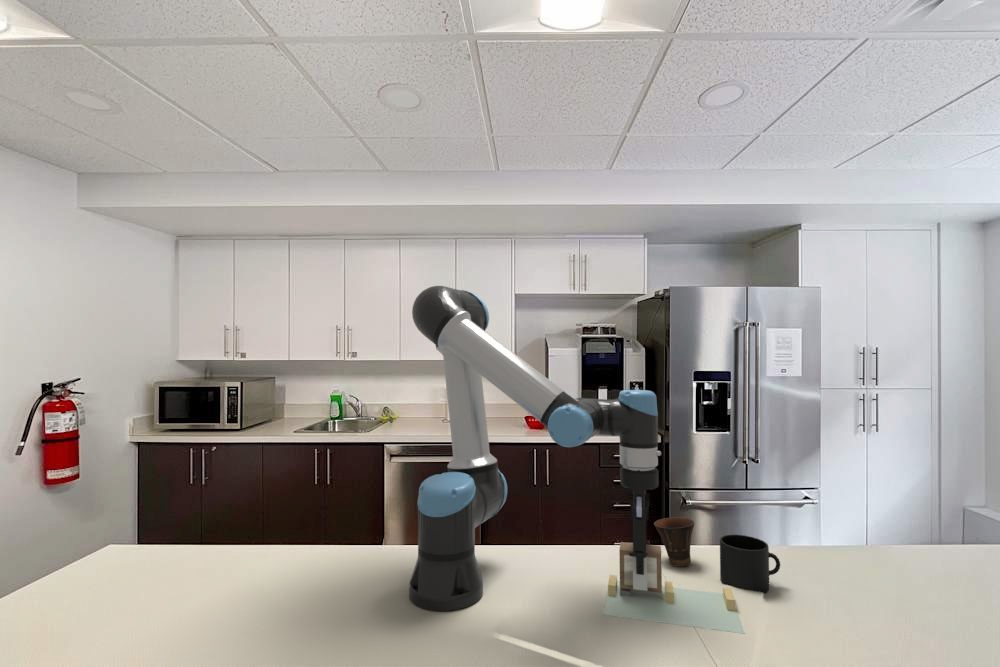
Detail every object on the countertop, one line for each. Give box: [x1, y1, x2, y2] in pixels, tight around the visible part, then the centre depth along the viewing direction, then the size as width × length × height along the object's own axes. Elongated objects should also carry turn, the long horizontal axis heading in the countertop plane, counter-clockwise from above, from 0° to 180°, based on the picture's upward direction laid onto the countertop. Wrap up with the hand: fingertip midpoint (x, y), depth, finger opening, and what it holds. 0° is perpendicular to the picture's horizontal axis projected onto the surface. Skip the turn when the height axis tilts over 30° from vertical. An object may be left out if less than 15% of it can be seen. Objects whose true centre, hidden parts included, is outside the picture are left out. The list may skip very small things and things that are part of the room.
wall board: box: [603, 574, 746, 635], centre depth 100 cm, size 24×15×3 cm, turn 74°
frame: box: [618, 541, 663, 593], centre depth 104 cm, size 8×5×8 cm, turn 74°
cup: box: [653, 516, 695, 567], centre depth 122 cm, size 9×9×10 cm
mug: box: [719, 534, 781, 594], centre depth 110 cm, size 9×12×9 cm
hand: (640, 583), depth 104 cm, fingers closed on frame, 5 cm apart
